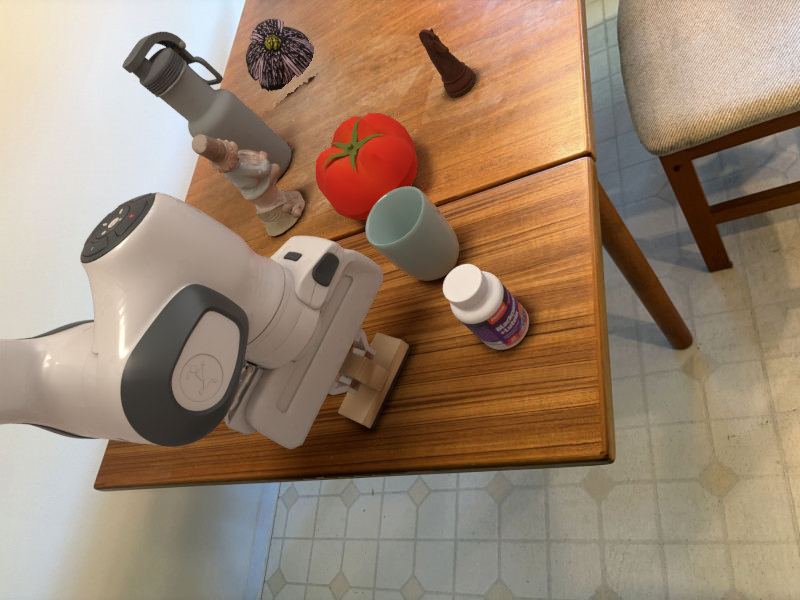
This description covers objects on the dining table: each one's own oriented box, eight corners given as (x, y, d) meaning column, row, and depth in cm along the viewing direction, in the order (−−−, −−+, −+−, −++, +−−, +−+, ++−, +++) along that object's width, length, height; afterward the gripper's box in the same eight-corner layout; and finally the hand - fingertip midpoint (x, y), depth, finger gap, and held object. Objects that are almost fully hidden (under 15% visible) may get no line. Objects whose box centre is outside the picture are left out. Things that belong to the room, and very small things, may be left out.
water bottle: (271, 145, 105) (140, 27, 85) (303, 142, 99) (170, 14, 79) (245, 190, 103) (105, 79, 83) (277, 190, 96) (132, 71, 76)
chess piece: (461, 100, 79) (424, 45, 72) (440, 94, 82) (402, 41, 75) (482, 75, 79) (447, 18, 72) (459, 69, 82) (424, 15, 75)
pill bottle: (523, 353, 55) (478, 311, 48) (476, 348, 58) (428, 307, 51) (536, 304, 56) (495, 256, 50) (489, 302, 60) (445, 256, 53)
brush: (378, 432, 60) (338, 413, 55) (347, 417, 64) (307, 398, 59) (416, 349, 63) (381, 324, 58) (385, 339, 66) (350, 314, 61)
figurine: (301, 231, 86) (197, 148, 72) (264, 241, 91) (159, 165, 77) (314, 185, 90) (218, 98, 76) (278, 197, 95) (181, 117, 81)
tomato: (374, 251, 74) (327, 210, 67) (332, 197, 86) (287, 157, 79) (453, 174, 73) (412, 123, 66) (398, 130, 84) (359, 82, 77)
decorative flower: (245, 77, 101) (224, 27, 107) (272, 119, 112) (251, 71, 118) (317, 41, 101) (291, -8, 107) (337, 86, 111) (312, 39, 118)
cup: (408, 294, 67) (358, 252, 60) (417, 240, 71) (371, 194, 64) (465, 285, 63) (419, 238, 56) (472, 228, 66) (429, 177, 59)
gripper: (233, 435, 46) (338, 473, 56) (343, 226, 51) (422, 295, 61) (197, 412, 50) (300, 451, 60) (302, 221, 55) (382, 286, 65)
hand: (362, 371), depth 60 cm, fingers closed on brush, 2 cm apart
